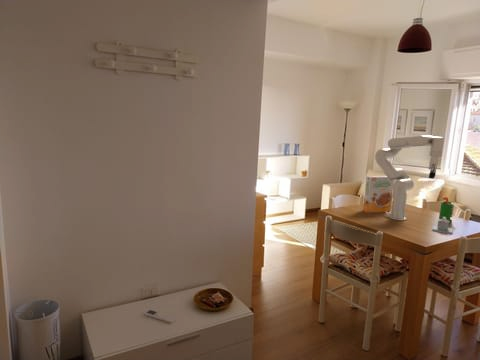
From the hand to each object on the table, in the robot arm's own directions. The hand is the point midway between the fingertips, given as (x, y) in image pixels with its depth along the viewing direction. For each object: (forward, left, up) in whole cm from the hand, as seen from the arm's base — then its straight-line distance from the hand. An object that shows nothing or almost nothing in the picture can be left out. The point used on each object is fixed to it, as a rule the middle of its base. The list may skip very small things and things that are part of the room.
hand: (431, 177), depth 249 cm
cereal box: (-40, +22, -37) cm, 59 cm away
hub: (+11, -4, -35) cm, 36 cm away
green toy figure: (+11, +22, -37) cm, 45 cm away
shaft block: (+11, -4, -37) cm, 39 cm away
